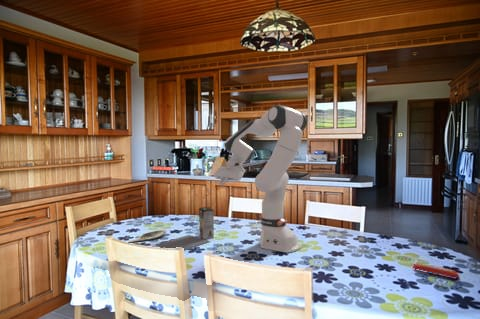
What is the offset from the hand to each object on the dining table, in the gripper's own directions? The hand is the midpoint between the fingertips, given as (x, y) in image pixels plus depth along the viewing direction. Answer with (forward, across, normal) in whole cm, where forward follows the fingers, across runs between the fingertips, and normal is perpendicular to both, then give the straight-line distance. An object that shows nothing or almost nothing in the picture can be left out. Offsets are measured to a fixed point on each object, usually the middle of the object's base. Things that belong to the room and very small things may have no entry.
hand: (221, 184), depth 189 cm
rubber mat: (+40, 0, 0) cm, 41 cm away
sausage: (+10, +108, +30) cm, 113 cm away
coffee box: (+29, 0, +12) cm, 31 cm away
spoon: (+50, -22, -9) cm, 56 cm away
